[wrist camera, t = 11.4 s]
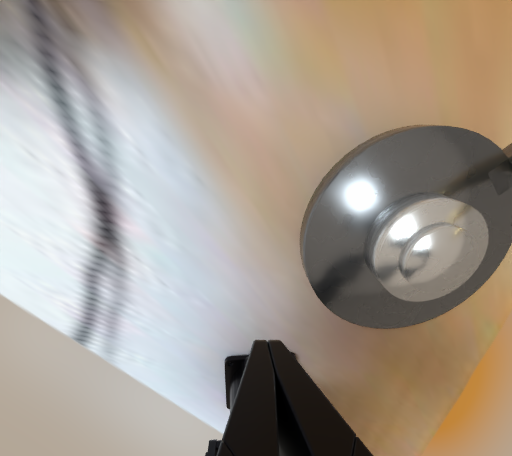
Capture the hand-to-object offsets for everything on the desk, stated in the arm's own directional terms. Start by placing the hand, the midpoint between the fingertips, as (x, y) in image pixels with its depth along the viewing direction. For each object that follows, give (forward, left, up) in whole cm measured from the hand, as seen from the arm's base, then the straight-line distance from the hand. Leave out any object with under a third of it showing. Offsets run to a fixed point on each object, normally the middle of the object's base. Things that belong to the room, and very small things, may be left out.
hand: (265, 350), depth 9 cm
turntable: (-1, -12, -11) cm, 16 cm away
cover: (-1, -11, -10) cm, 15 cm away
